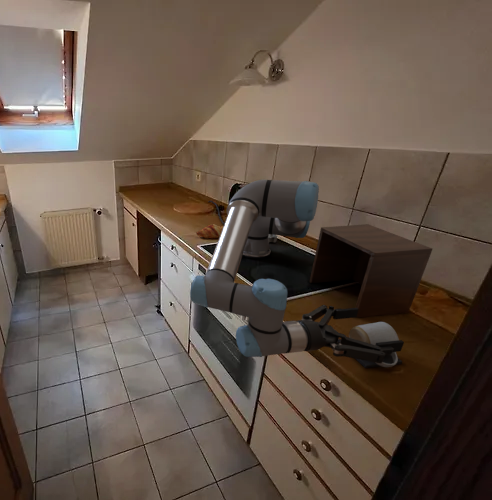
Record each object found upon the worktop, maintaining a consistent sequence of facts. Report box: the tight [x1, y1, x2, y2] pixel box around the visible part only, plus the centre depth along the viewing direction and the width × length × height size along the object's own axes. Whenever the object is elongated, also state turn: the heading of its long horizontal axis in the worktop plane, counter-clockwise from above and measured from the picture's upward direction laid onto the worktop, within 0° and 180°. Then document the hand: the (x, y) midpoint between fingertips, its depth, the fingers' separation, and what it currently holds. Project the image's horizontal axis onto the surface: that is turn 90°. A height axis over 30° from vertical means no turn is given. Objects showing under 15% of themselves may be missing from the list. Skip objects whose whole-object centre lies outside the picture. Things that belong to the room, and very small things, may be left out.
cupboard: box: [309, 223, 433, 318], centre depth 101 cm, size 23×18×22 cm
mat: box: [337, 338, 403, 369], centre depth 79 cm, size 10×10×1 cm
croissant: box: [195, 224, 224, 239], centre depth 163 cm, size 21×10×8 cm, turn 101°
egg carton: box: [268, 234, 279, 243], centre depth 156 cm, size 11×8×4 cm
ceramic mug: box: [348, 321, 400, 368], centre depth 76 cm, size 11×8×8 cm
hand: (377, 327), depth 77 cm, fingers open, 13 cm apart
